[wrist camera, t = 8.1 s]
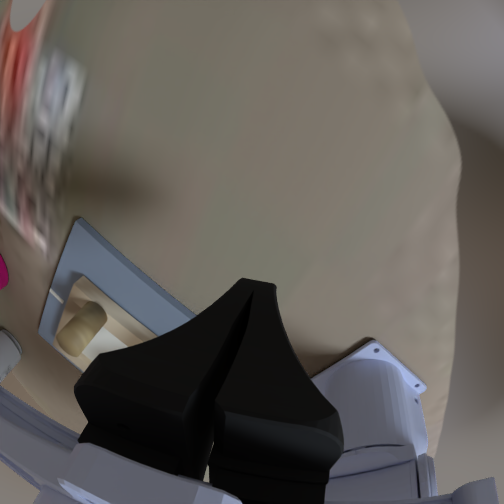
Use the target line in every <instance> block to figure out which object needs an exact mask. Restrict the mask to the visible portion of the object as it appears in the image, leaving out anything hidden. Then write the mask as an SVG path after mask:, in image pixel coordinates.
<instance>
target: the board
mask: <svg viewBox="0 0 504 504" xmlns="http://www.w3.org/2000/svg"><path fill="white" fill-rule="evenodd" d="M83 275H84V276H85V277H86V278H87V279H88V280H89V281H90V282H92V283H93V284H94V285H95V286H96V287H97V288H98V289H100V290H101V291H102V292H103V293H104V294H105V295H107V296H108V297H109V298H110V299H111V300H113V301H114V302H115V303H116V304H117V305H119V306H120V307H121V308H122V309H123V310H125V311H126V312H127V313H128V314H130V315H131V316H132V317H133V318H135V319H136V320H137V321H138V322H140V323H141V324H142V325H144V326H145V327H146V328H147V329H149V330H150V331H151V332H153V333H154V334H155V335H157V336H160V335H163V334H165V333H167V332H169V331H171V330H173V329H175V328H177V327H179V326H181V325H183V324H184V323H186V322H188V321H189V320H191V319H192V318H194V317H195V316H196V315H195V314H194V313H192V312H191V311H190V310H189V309H187V308H186V307H185V306H184V305H182V304H181V303H180V302H178V301H177V300H176V299H175V298H173V297H172V296H171V295H170V294H169V293H167V292H166V291H165V290H164V289H162V288H161V287H160V286H159V285H157V284H156V283H155V282H154V281H153V280H151V279H150V278H149V277H148V276H147V275H145V274H144V273H143V272H142V271H141V270H140V269H138V268H137V267H136V266H135V265H134V264H133V263H131V262H130V261H129V260H128V259H127V258H126V257H125V256H123V255H122V254H121V253H120V252H119V251H118V250H117V249H115V248H114V247H113V246H112V245H111V244H110V243H109V242H108V241H106V240H105V239H104V238H103V237H102V236H101V235H100V234H99V233H98V232H97V231H96V230H94V229H93V228H92V227H91V226H90V225H89V224H88V223H87V222H86V221H85V220H84V219H83V218H82V217H81V218H79V219H78V220H76V221H75V223H74V226H73V228H72V231H71V233H70V236H69V238H68V241H67V243H66V246H65V248H64V251H63V254H62V256H61V259H60V262H59V265H58V268H57V270H56V273H55V276H54V279H53V282H52V285H51V288H50V290H49V295H48V298H47V301H46V305H45V308H44V312H43V315H42V319H41V323H40V326H39V330H38V334H39V335H41V336H42V337H43V338H44V339H45V340H46V341H47V342H48V343H49V344H50V345H51V346H52V347H53V348H54V349H56V348H55V347H54V346H53V341H54V338H55V335H56V332H57V329H58V326H59V323H60V320H61V317H62V314H63V311H64V308H65V306H66V303H67V300H68V297H69V295H70V292H71V290H72V287H73V284H74V283H75V282H76V281H77V280H79V279H80V278H81V277H82V276H83ZM56 350H57V349H56ZM57 351H58V352H59V353H60V354H61V355H62V356H63V357H65V356H64V355H63V354H62V353H61V352H60V351H59V350H57ZM65 358H66V359H67V360H68V361H69V362H70V363H71V364H73V365H74V366H75V367H76V368H77V369H79V370H80V371H81V372H82V373H84V372H83V371H82V370H81V369H80V368H79V367H77V366H76V365H75V364H74V363H72V362H71V361H70V360H69V359H68V358H67V357H65Z"/></svg>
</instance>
